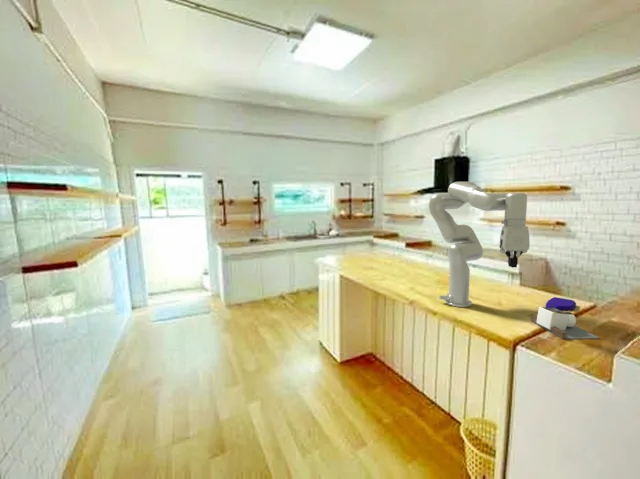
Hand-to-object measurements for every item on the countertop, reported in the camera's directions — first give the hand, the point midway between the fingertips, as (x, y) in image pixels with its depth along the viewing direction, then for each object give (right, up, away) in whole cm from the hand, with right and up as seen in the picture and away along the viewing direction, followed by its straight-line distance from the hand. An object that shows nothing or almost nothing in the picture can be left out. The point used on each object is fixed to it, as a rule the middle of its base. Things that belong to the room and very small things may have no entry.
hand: (512, 266), depth 130 cm
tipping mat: (+18, -25, -3) cm, 31 cm away
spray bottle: (+34, -23, +20) cm, 46 cm away
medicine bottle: (+11, -21, -3) cm, 23 cm away
